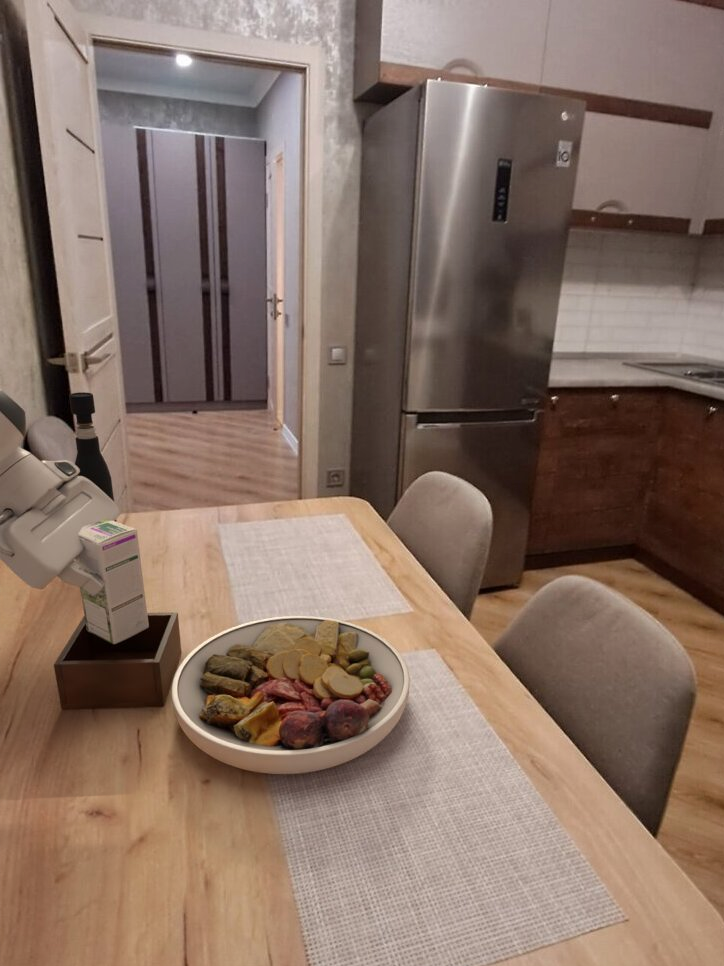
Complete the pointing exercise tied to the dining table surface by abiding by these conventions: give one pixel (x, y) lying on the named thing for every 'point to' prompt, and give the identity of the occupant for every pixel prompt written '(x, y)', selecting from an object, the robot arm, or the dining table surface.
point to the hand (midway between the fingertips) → (115, 573)
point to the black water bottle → (89, 444)
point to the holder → (119, 667)
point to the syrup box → (113, 581)
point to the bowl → (290, 694)
